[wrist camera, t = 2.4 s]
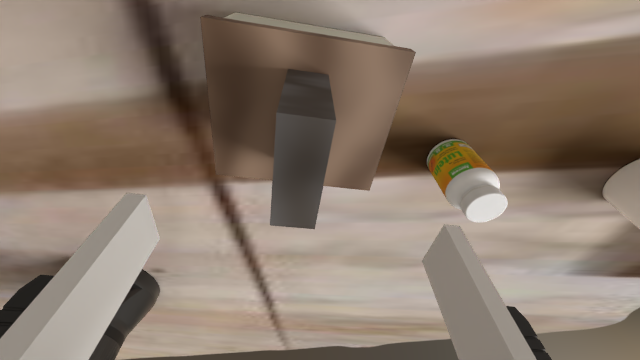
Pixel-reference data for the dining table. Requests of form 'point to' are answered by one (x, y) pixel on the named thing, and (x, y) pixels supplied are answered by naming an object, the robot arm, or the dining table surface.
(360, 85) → the walnut lid
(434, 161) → the supplement bottle
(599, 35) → the dining table surface
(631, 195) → the candle holder
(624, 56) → the dining table surface
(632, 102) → the dining table surface
